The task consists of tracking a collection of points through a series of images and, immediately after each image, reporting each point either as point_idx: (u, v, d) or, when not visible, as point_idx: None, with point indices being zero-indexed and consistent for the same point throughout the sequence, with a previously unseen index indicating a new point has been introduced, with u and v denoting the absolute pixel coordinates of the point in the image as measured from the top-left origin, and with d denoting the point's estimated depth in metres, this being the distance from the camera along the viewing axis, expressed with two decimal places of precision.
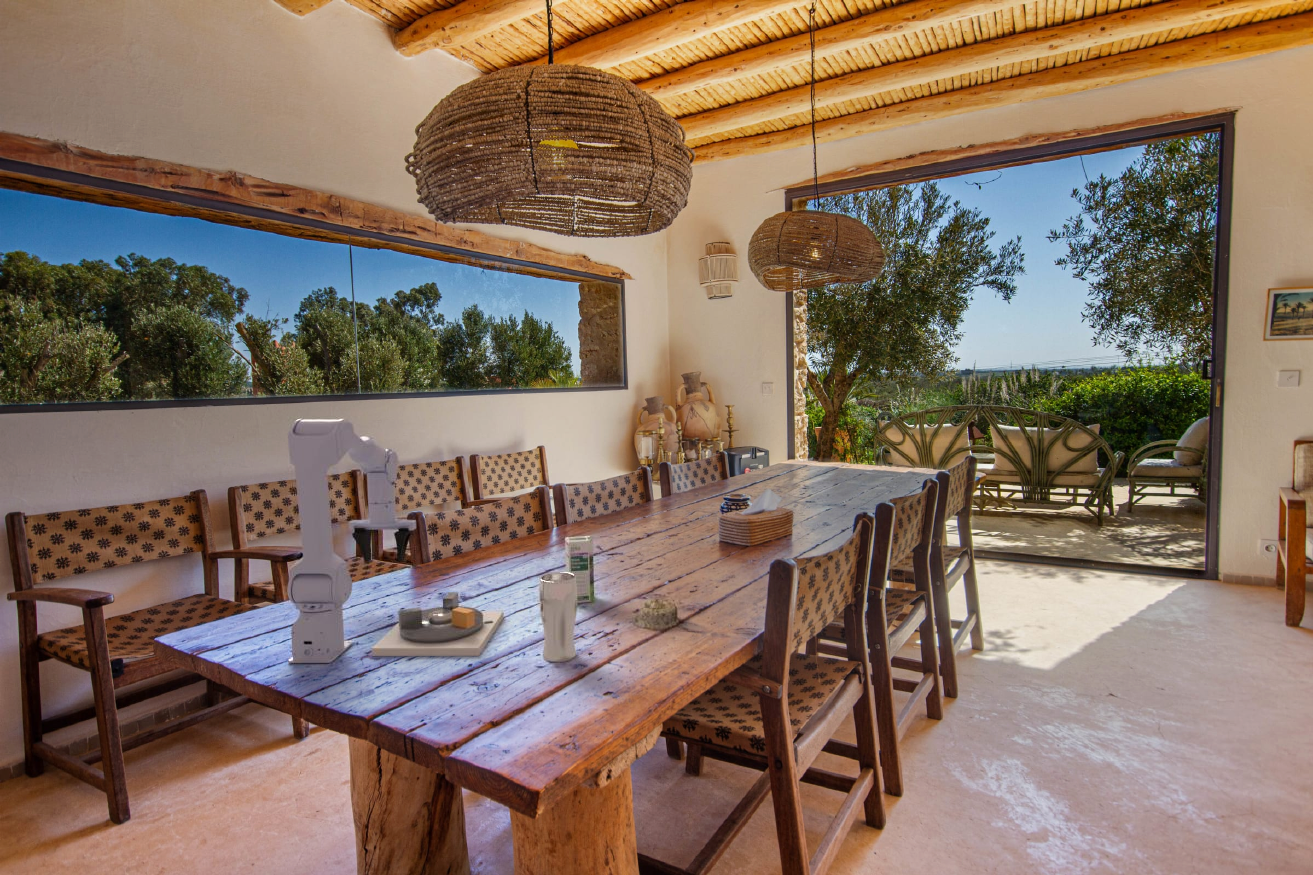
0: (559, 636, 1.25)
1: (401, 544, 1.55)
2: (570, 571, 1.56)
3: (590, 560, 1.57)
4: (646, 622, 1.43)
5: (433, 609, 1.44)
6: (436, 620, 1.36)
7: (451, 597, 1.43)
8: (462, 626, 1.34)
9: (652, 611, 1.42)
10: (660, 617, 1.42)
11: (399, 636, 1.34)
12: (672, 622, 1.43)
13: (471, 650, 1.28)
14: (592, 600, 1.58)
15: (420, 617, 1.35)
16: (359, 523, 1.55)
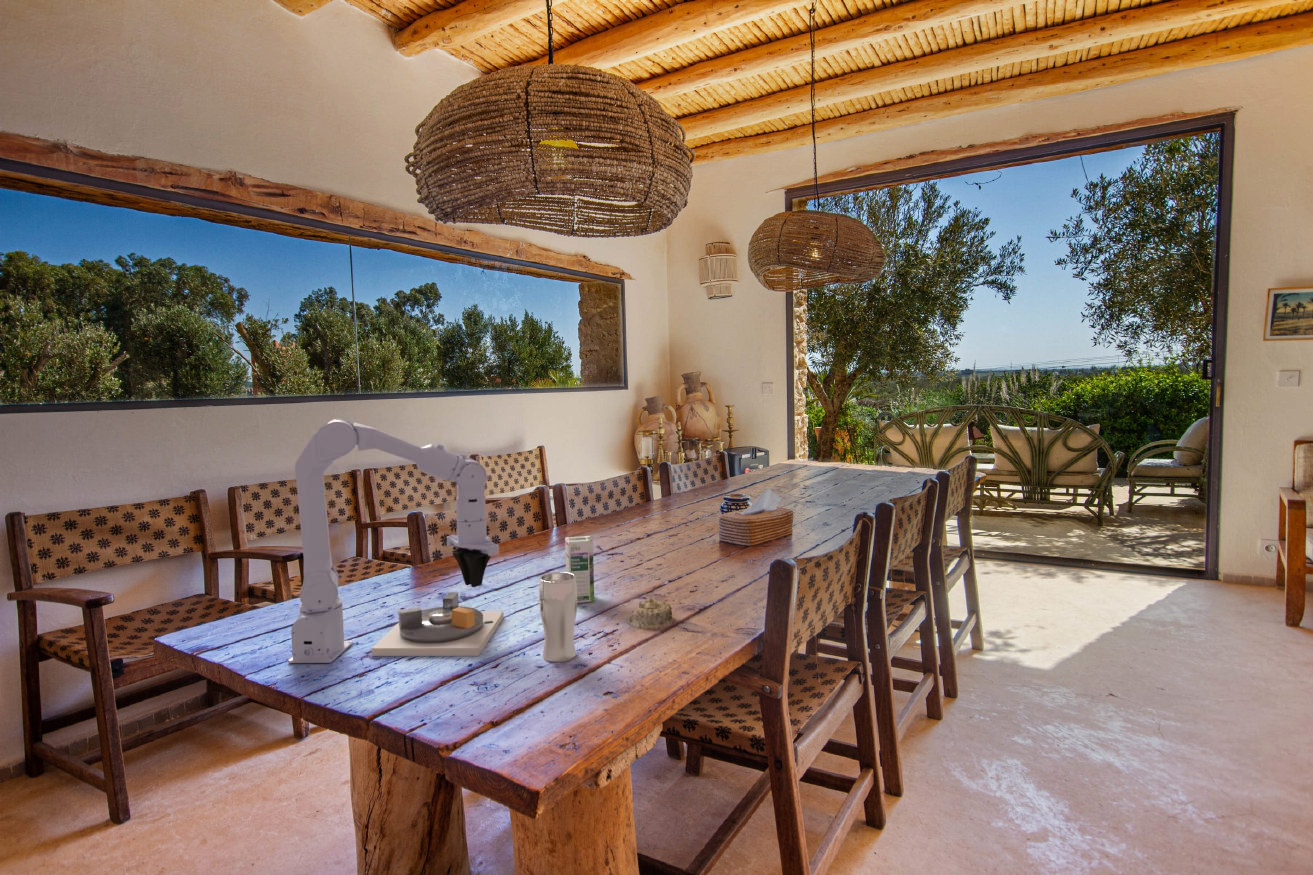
0: (559, 636, 1.25)
1: (471, 568, 1.38)
2: (570, 571, 1.56)
3: (590, 560, 1.57)
4: (640, 622, 1.43)
5: (433, 609, 1.44)
6: (436, 620, 1.36)
7: (451, 597, 1.43)
8: (462, 626, 1.34)
9: (646, 611, 1.42)
10: (654, 617, 1.42)
11: (399, 636, 1.34)
12: (666, 622, 1.44)
13: (471, 650, 1.28)
14: (592, 600, 1.58)
15: (420, 617, 1.35)
16: (452, 539, 1.42)
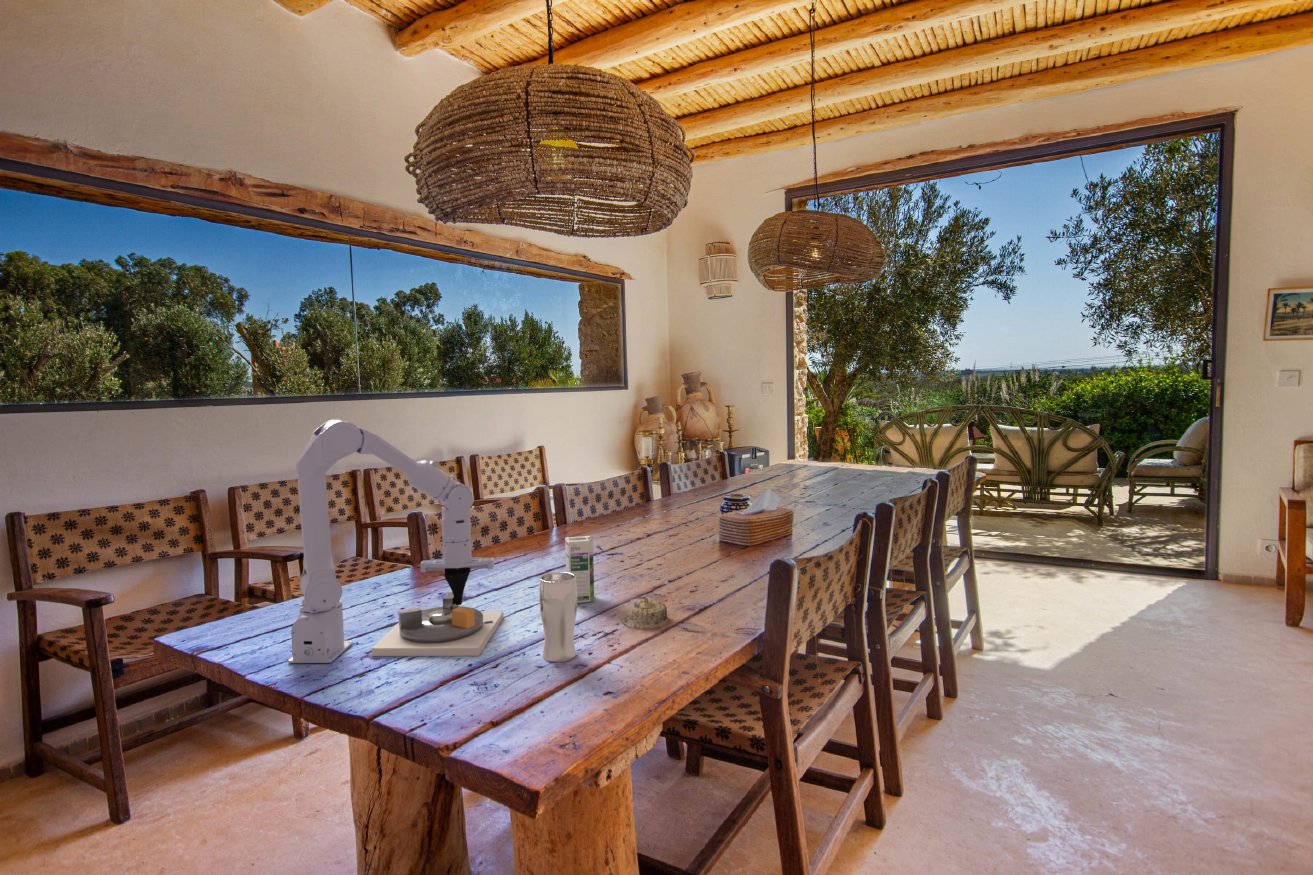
0: (559, 636, 1.25)
1: (463, 585, 1.42)
2: (570, 571, 1.56)
3: (590, 560, 1.57)
4: (635, 621, 1.43)
5: (433, 609, 1.44)
6: (436, 620, 1.36)
7: (451, 597, 1.43)
8: (462, 626, 1.34)
9: (642, 611, 1.43)
10: (649, 617, 1.42)
11: (399, 636, 1.34)
12: (661, 622, 1.44)
13: (471, 650, 1.28)
14: (592, 600, 1.58)
15: (420, 617, 1.35)
16: (433, 564, 1.41)
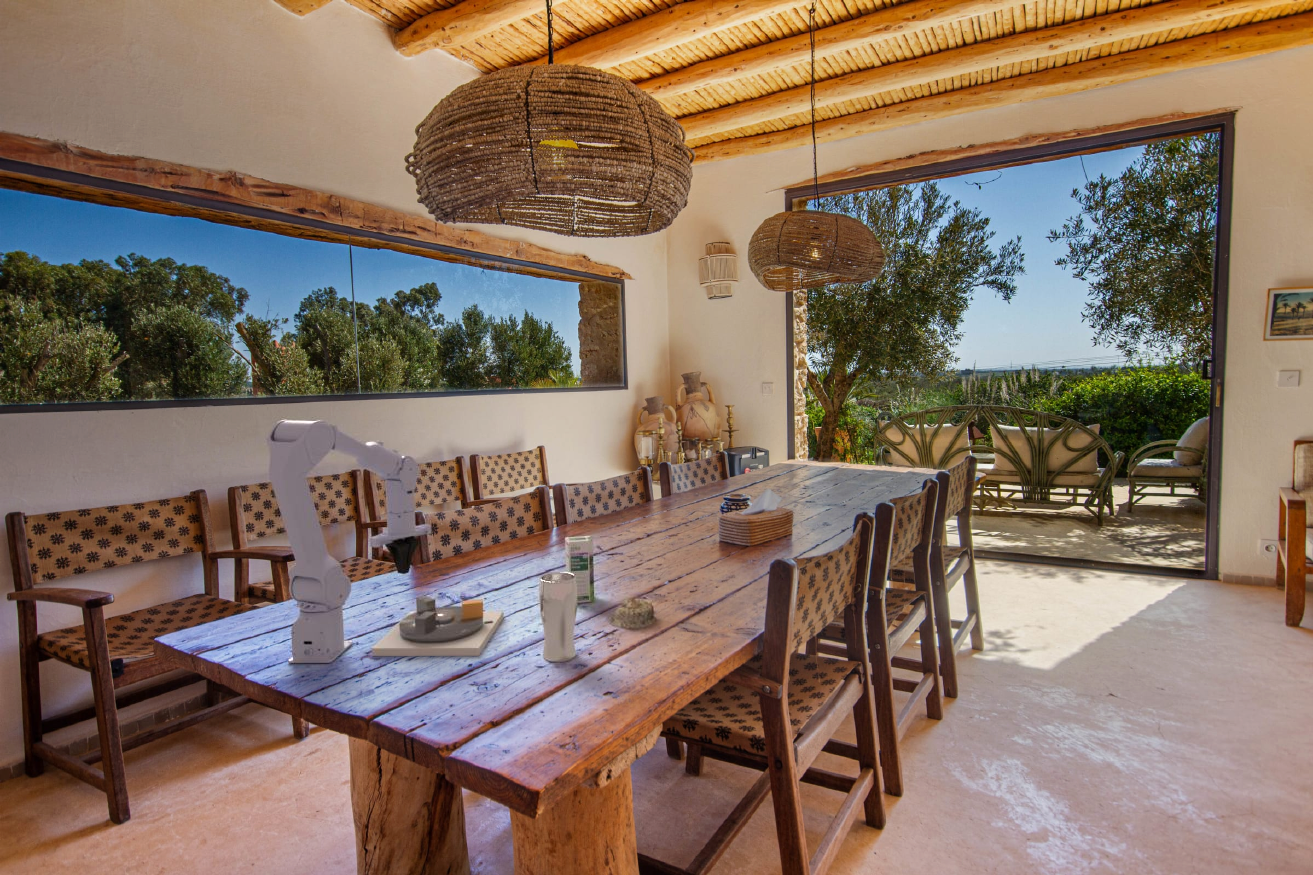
0: (559, 636, 1.25)
1: (413, 553, 1.50)
2: (570, 571, 1.56)
3: (590, 560, 1.57)
4: (622, 621, 1.43)
5: (409, 617, 1.40)
6: (447, 619, 1.36)
7: (431, 599, 1.42)
8: (477, 616, 1.39)
9: (628, 611, 1.43)
10: (636, 616, 1.42)
11: (399, 636, 1.34)
12: (648, 621, 1.44)
13: (471, 650, 1.28)
14: (592, 600, 1.58)
15: (435, 619, 1.34)
16: (388, 537, 1.44)
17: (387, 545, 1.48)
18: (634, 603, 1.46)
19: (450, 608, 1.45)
